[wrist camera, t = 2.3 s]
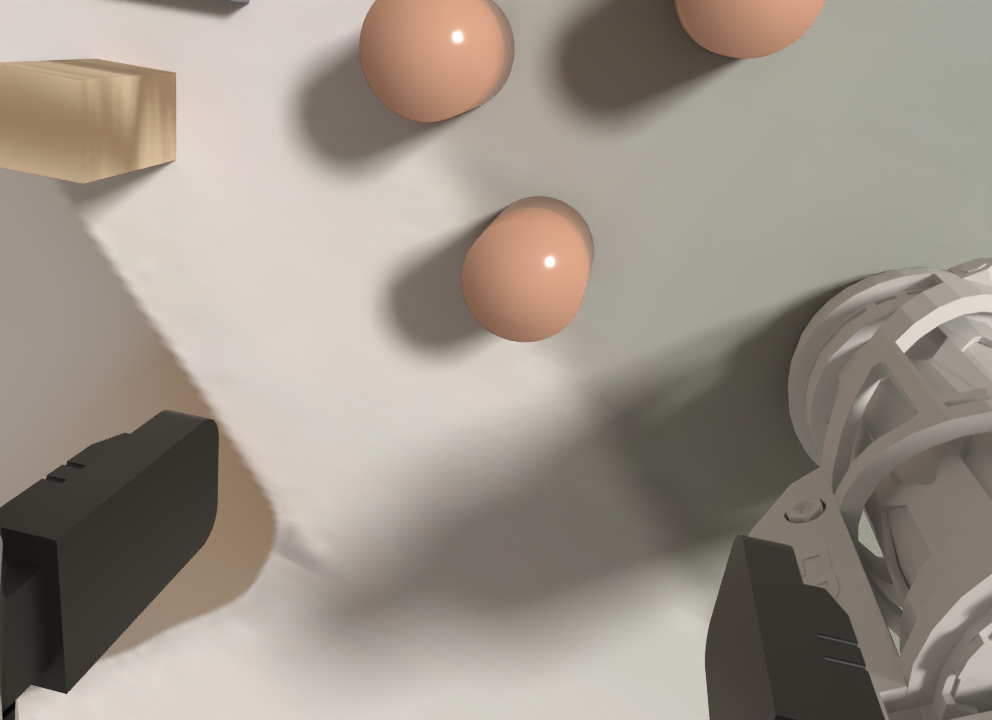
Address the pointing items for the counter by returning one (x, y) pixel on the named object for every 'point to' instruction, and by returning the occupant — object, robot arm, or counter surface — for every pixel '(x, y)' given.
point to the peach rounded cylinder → (746, 24)
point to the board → (240, 1)
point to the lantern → (901, 481)
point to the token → (85, 118)
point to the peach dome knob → (435, 55)
